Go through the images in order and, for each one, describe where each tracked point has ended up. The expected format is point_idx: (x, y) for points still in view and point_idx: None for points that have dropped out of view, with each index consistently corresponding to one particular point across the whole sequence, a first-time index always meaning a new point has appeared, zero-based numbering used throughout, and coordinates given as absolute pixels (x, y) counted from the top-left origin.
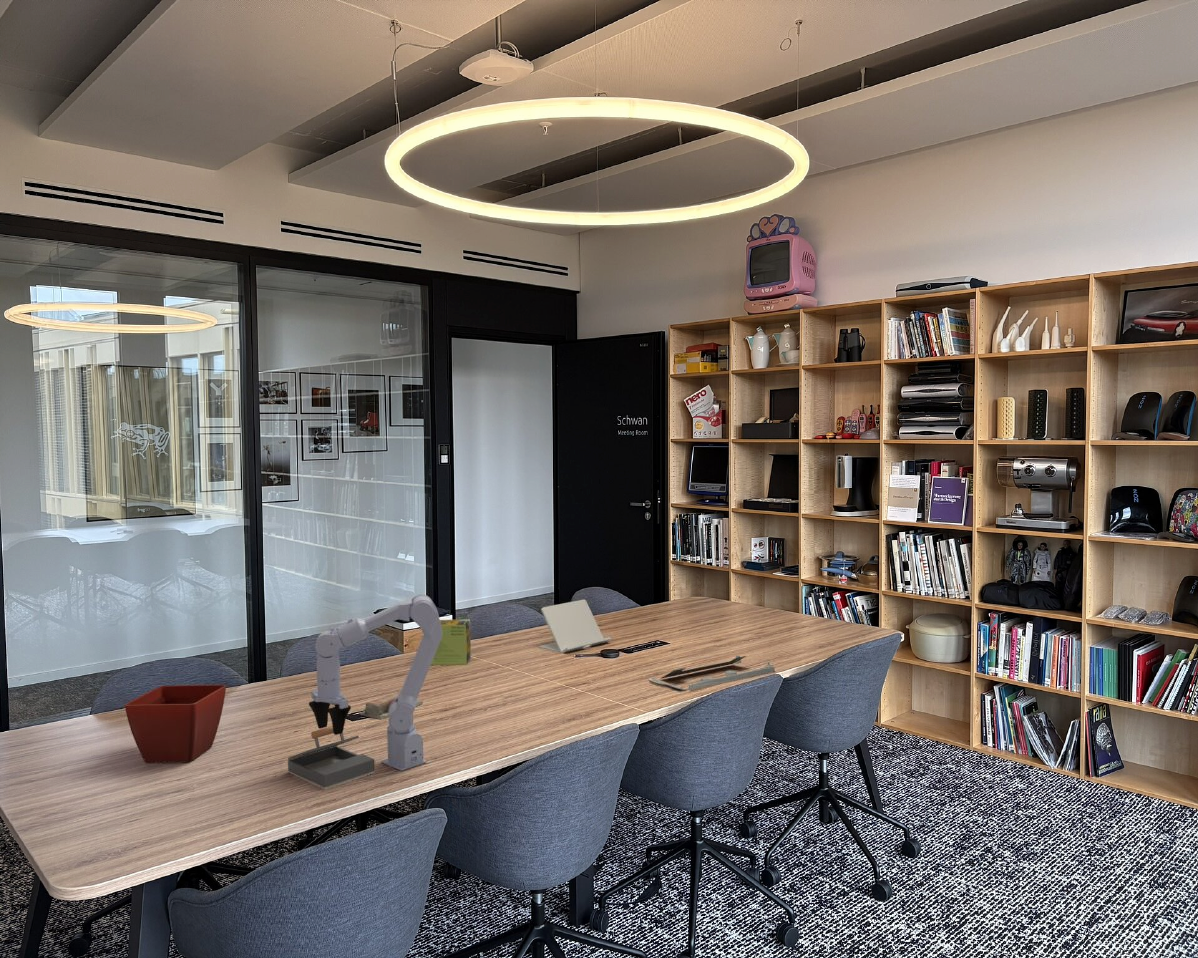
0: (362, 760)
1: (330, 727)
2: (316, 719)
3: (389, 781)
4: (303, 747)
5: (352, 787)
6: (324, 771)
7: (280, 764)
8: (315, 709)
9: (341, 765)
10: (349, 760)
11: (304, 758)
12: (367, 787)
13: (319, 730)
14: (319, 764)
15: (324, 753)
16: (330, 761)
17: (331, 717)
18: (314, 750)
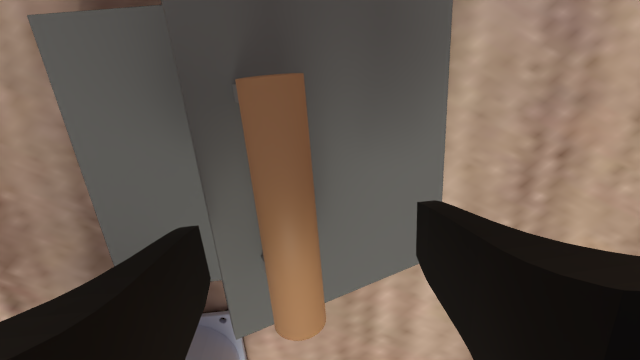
0: (140, 249)
1: (279, 248)
2: (474, 220)
3: (25, 257)
4: (618, 178)
5: (38, 128)
6: (93, 43)
7: (537, 14)
8: (537, 277)
9: (131, 152)
10: (178, 208)
11: None
12: (3, 173)
13: (265, 145)
14: None
15: None
16: None
17: (82, 307)
18: (168, 30)
